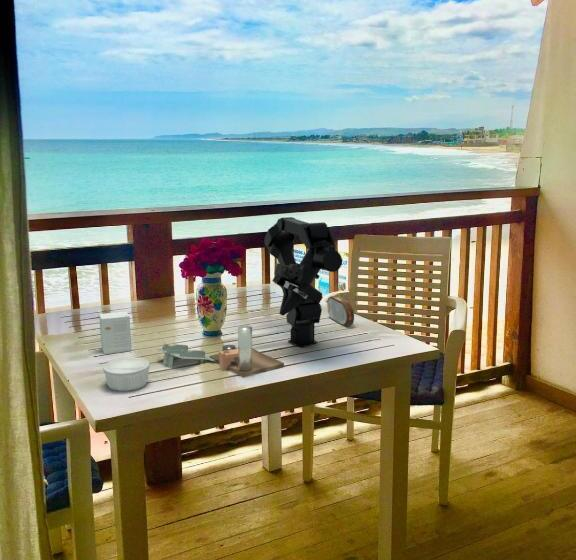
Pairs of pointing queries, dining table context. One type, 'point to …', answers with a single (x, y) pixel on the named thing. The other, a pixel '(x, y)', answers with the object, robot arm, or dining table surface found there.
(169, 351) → the metal bracket
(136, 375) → the ramekin
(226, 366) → the block
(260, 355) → the board
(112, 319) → the small box
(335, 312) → the tin
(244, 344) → the grey cylinder with bar
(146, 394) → the dining table surface
